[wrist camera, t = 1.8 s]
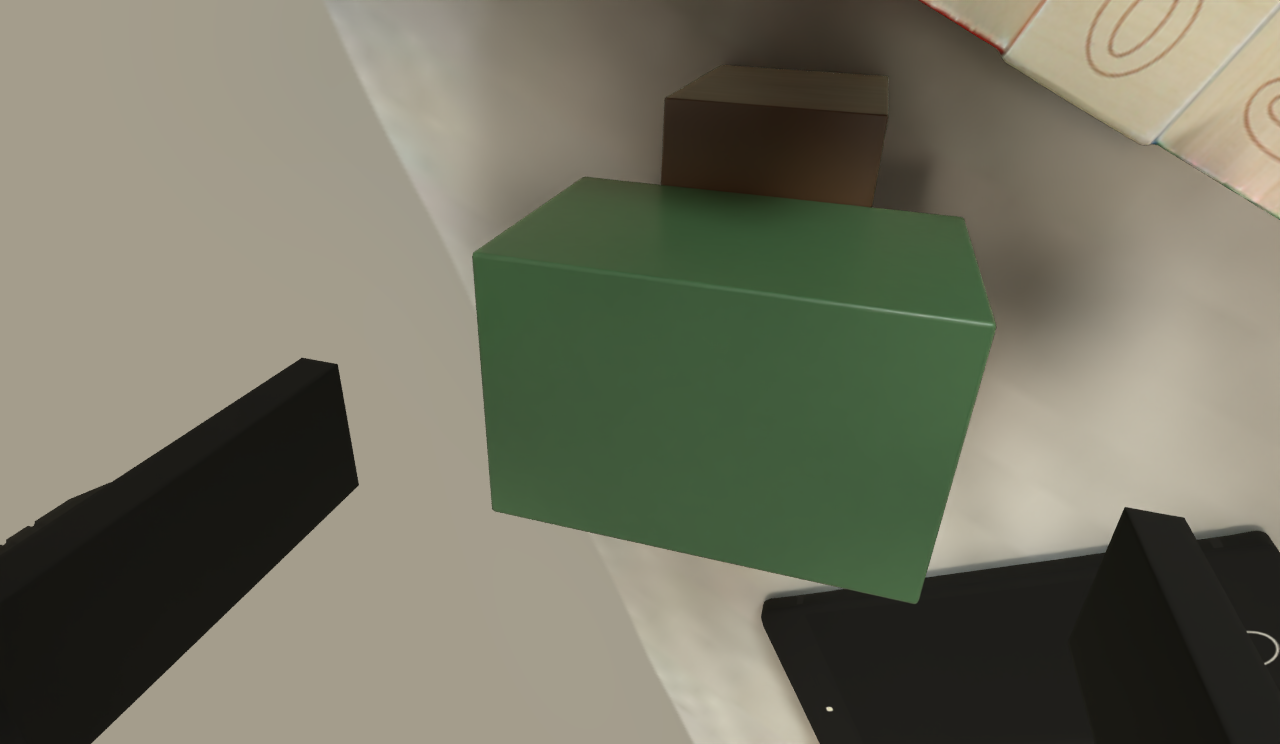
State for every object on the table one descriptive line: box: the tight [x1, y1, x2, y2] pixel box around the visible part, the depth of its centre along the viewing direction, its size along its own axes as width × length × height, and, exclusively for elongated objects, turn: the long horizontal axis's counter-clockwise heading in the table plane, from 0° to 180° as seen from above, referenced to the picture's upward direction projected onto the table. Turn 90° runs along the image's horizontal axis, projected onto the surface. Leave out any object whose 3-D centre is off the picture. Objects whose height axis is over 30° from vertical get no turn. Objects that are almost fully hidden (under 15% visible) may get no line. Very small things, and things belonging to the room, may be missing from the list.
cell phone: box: [761, 531, 1280, 744], centre depth 30 cm, size 9×18×1 cm, turn 115°
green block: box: [472, 177, 996, 604], centre depth 17 cm, size 6×9×6 cm, turn 88°
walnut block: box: [661, 65, 888, 207], centre depth 22 cm, size 10×5×7 cm, turn 178°
